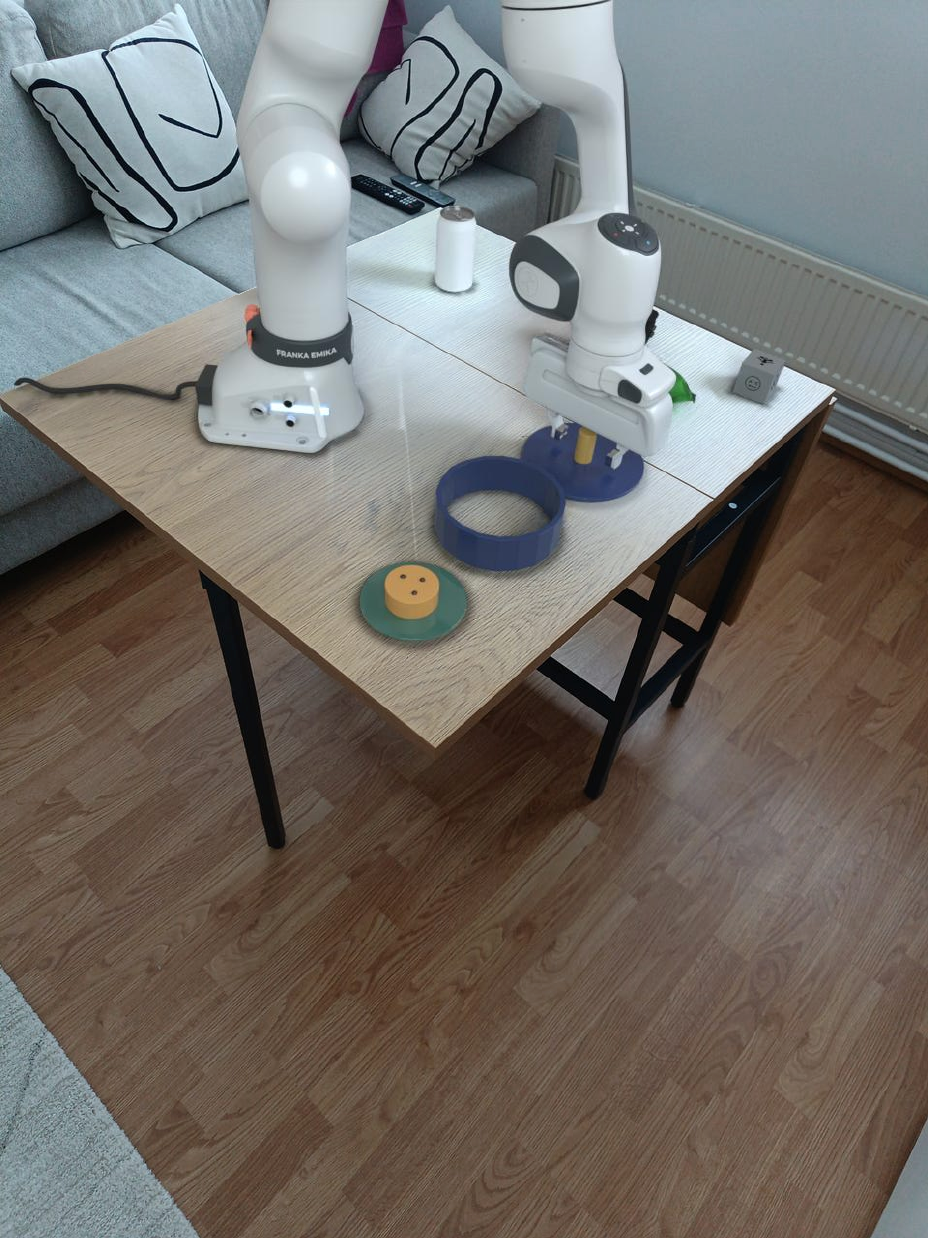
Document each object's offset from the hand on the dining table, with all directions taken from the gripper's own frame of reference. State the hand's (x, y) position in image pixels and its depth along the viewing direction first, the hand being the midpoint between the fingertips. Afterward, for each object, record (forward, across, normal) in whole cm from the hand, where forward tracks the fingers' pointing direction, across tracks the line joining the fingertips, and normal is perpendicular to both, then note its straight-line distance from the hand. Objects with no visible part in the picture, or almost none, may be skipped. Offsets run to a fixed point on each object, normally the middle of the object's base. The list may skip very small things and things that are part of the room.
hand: (585, 451), depth 116 cm
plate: (+2, 0, -34) cm, 35 cm away
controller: (+2, -13, +27) cm, 30 cm away
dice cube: (+3, +9, +33) cm, 35 cm away
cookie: (+1, 0, -35) cm, 35 cm away
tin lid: (+2, 0, 0) cm, 2 cm away
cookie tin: (+2, 0, -18) cm, 18 cm away
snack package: (+2, -3, +20) cm, 20 cm away
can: (+2, -44, +26) cm, 51 cm away
